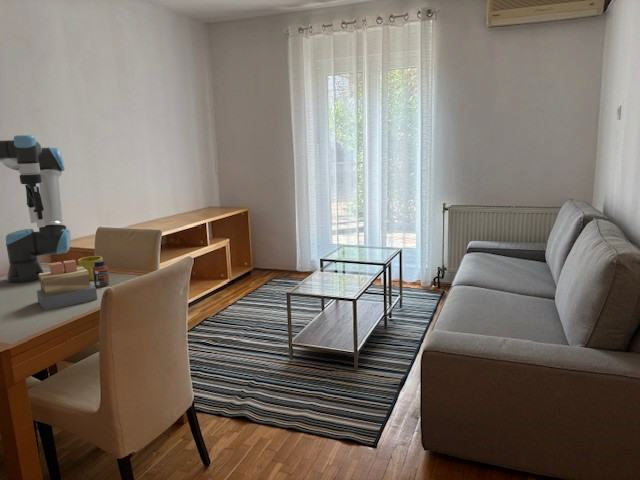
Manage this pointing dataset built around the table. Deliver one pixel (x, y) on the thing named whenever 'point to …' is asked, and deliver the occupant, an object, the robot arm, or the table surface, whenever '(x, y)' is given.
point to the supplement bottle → (100, 274)
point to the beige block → (64, 281)
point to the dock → (66, 298)
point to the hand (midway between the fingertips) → (37, 224)
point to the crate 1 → (56, 268)
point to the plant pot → (89, 264)
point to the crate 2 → (70, 266)
